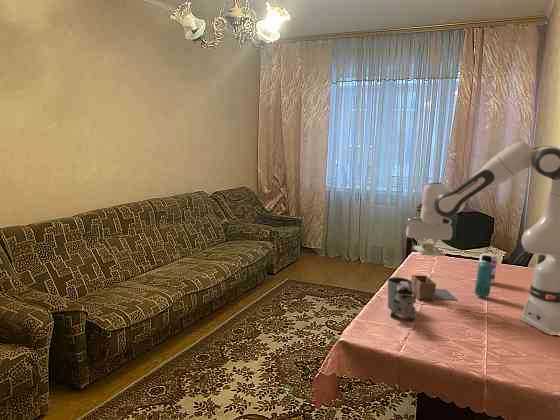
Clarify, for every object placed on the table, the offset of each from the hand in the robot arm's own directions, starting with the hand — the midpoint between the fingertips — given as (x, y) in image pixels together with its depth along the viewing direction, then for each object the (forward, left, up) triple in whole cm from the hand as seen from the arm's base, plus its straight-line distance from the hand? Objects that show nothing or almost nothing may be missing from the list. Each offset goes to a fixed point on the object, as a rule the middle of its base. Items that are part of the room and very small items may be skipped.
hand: (427, 248), depth 201 cm
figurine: (-29, +18, -23) cm, 41 cm away
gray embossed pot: (-16, +16, -23) cm, 32 cm away
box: (0, 0, -23) cm, 23 cm away
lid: (0, 0, -2) cm, 2 cm away
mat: (+3, -10, -23) cm, 25 cm away
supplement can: (+25, -42, -23) cm, 54 cm away
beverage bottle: (+2, -29, -23) cm, 37 cm away
